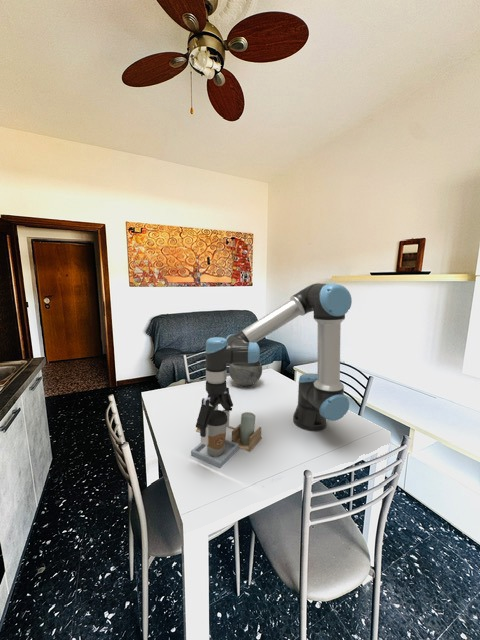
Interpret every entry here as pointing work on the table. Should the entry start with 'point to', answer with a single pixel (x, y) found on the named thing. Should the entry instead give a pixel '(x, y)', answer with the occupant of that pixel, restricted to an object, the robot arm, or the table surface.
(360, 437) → the table surface
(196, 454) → the tray
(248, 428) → the jar
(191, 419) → the table surface
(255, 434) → the caddy
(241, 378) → the bowl
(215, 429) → the coffee cup
